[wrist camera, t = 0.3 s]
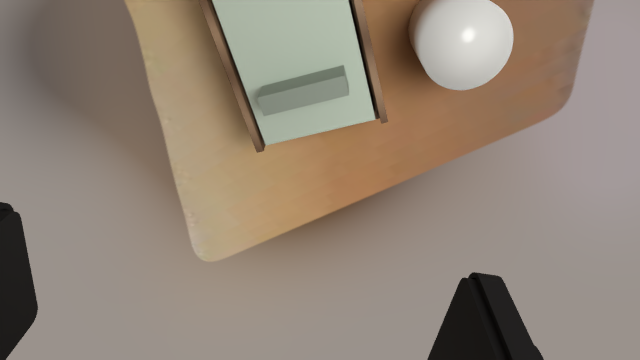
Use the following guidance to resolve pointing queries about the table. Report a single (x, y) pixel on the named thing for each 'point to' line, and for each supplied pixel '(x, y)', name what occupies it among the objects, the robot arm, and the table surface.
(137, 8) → the table surface
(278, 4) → the lid
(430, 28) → the white round canister
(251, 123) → the walnut box
